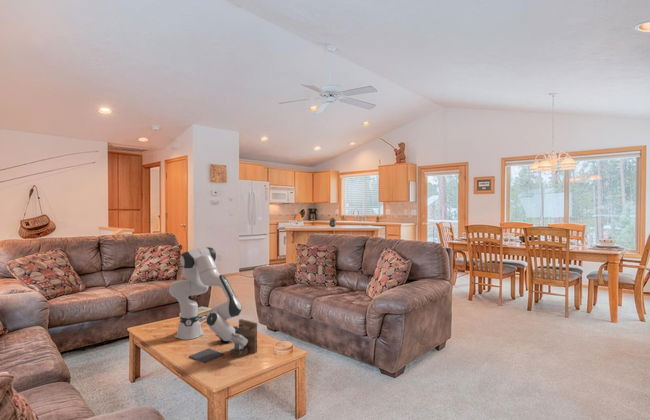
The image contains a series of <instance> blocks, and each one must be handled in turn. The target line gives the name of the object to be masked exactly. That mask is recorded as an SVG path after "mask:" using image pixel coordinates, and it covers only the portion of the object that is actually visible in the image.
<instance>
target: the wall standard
mask: <svg viewBox="0 0 650 420" xmlns="http://www.w3.org/2000/svg"><path fill="white" fill-rule="evenodd" d="M238 328H239V334H240V335H242V336H243V337H245V338H246V339H247V340H248V342H247V344H246V346H244V350H242V351H236V350H234V348H232V349H230V355H231V356H233V357H237V358H240V357H243V356H245V355H248V353H252V354H257V353H258V322H254V321H250V320H247V319H243V318H240V319H238Z"/></svg>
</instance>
